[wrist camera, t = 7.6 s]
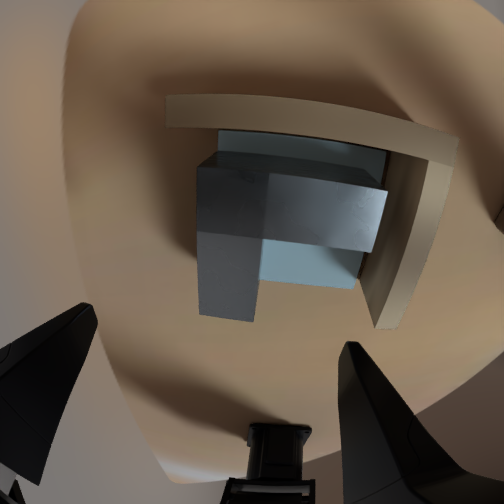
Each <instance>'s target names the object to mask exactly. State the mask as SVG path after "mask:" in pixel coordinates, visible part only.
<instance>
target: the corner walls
mask: <svg viewBox="0 0 504 504" xmlns="http://www.w3.org/2000/svg"><path fill="white" fill-rule="evenodd" d="M165 128H223V129H242V130H257V131H269V132H280V133H289V134H298V135H306V136H313V137H320V138H327V139H334V140H340V141H346V142H351V143H357V144H362V145H367V146H372V147H377V148H382V149H386V150H391V154H390V160H389V165H388V171H387V176H386V181H385V185H384V188H385V189H386V190H387V191H388V193H387V197H386V201H385V205H384V209H383V213H382V217H381V221H380V224H379V228H378V231H377V235H376V239H375V242H374V245H373V249H372V252H368V254H367V257H366V261H365V264H364V267H363V271H362V274H361V277H360V280H359V281H360V284H361V287H362V290H363V293H364V296H365V299H366V302H367V305H368V308H369V311H370V315H371V318H372V321H373V325H374V328H375V329H396V328H397V326H398V324H399V322H400V320H401V318H402V316H403V314H404V312H405V310H406V308H407V305H408V303H409V301H410V299H411V296H412V294H413V292H414V289H415V287H416V285H417V282H418V280H419V277H420V275H421V272H422V270H423V267H424V265H425V262H426V260H427V257H428V254H429V251H430V249H431V246H432V243H433V240H434V237H435V234H436V231H437V228H438V225H439V221H440V218H441V215H442V211H443V208H444V205H445V201H446V197H447V193H448V190H449V186H450V182H451V177H452V173H453V169H454V164H455V159H456V154H457V149H458V144H459V137H456V136H454V135H451V134H448V133H445V132H442V131H439V130H436V129H433V128H430V127H427V126H424V125H421V124H417V123H414V122H411V121H407V120H403V119H400V118H396V117H392V116H388V115H384V114H380V113H376V112H371V111H367V110H362V109H357V108H352V107H347V106H342V105H336V104H330V103H324V102H317V101H310V100H302V99H294V98H284V97H274V96H261V95H243V94H177V95H166V98H165Z"/></svg>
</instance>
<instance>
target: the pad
mask: <svg viewBox="0 0 504 504" xmlns="http://www.w3.org/2000/svg"><path fill="white" fill-rule="evenodd" d="M218 150H220V151H234V152H246V153H257V154H267V155H276V156H285V157H293V158H300V159H308V160H314V161H321V162H327V163H334V164H340V165H345V166H351V167H356V168H362V169H365V170H366V171H367V172H368V173H369V174H370V175H371V176H372V177H373V178H374V179H376V180H377V181H378V182H379V183H380V184H381V180H382V175H383V170H384V164H385V159H386V153H387V152H386V151H383V150H378V149H373V148H368V147H363V146H358V145H352V144H347V143H341V142H335V141H329V140H322V139H315V138H307V137H299V136H291V135H282V134H271V133H260V132H246V131H228V130H219V132H218ZM363 254H364V252H363V251H355V250H348V249H340V248H332V247H324V246H317V245H309V244H301V243H292V242H284V241H276V240H268V239H264V246H263V255H262V264H261V273H260V280H268V281H277V282H287V283H296V284H306V285H316V286H326V287H337V288H348V289H353V288H354V285H355V282H356V278H357V275H358V272H359V268H360V265H361V261H362V258H363Z"/></svg>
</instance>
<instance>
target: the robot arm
mask: <svg viewBox="0 0 504 504" xmlns="http://www.w3.org/2000/svg"><path fill="white" fill-rule="evenodd" d="M97 325H98V320H97V317H96V314H95V311H94V308H93V306H92V305H91V304H88V303H84V302H83V303H80V304H78V305H76V306H74V307H72V308H71V309H69V310H67V311H65V312H63V313H62V314H60V315H58V316H56V317H54V318H53V319H51V320H49V321H47V322H46V323H44V324H42V325H40V326H39V327H37V328H35V329H34V330H32V331H30V332H28V333H27V334H25V335H23V336H21V337H20V338H18V339H16V340H15V341H13V342H12V343H9V344H8V345H6V346H5V347H3V348H1V349H0V504H26V503H25V501H24V498H23V495H22V493H21V490H20V487H19V484H18V481H17V480H16V479H15V477H16V475H17V474H18V475H20V476H22V477H23V478H25V479H27V480H29V481H30V482H32V483H34V484H36V485H37V486H39V484H40V481H41V478H42V474H43V470H44V467H45V464H46V460H47V457H48V454H49V451H50V448H51V444H52V442H53V439H54V436H55V433H56V430H57V427H58V425H59V422H60V419H61V417H62V414H63V411H64V409H65V406H66V404H67V401H68V399H69V396H70V394H71V392H72V389H73V387H74V384H75V382H76V380H77V377H78V375H79V373H80V371H81V368H82V366H83V364H84V362H85V359H86V356H87V354H88V351H89V348H90V345H91V342H92V339H93V337H94V334H95V331H96V329H97ZM338 411H339V422H340V435H341V450H342V468H343V495H344V504H504V481H500V480H496V479H492V478H487V477H484V476H480V475H476V474H473V473H470V472H468V471H466V470H464V469H462V468H461V467H460V466H459V465H458V464H457V463H456V462H455V461H454V460H453V459H452V458H451V457H450V456H449V455H448V453H447V452H446V451H445V450H444V449H443V448H442V447H441V446H440V445H439V444H438V443H437V442H436V440H435V439H434V438H433V437H432V436H431V435H430V434H429V433H428V431H427V430H426V429H425V427H424V426H423V425H422V424H421V422H420V421H419V420H418V418H417V417H416V416H415V415H414V413H413V412H412V410H411V409H410V408H409V406H408V405H407V404H406V402H405V401H404V400H403V399H402V397H401V396H400V395H399V393H398V392H397V391H396V389H395V388H394V387H393V385H392V384H391V383H390V382H389V380H388V379H387V378H386V376H385V375H384V374H383V373H382V371H381V370H380V369H379V367H378V366H377V365H376V364H375V362H374V361H373V360H372V358H371V357H370V356H369V355H368V353H367V352H366V351H365V350H364V348H363V347H362V346H361V344H360V343H359V342H355V341H347V342H346V343H345V345H344V347H343V350H342V352H341V354H340V357H339V361H338ZM311 433H312V428H310V427H290V426H276V425H264V424H250V427H249V434H248V440H247V446H248V447H250V454H249V461H248V469H247V476H246V479H235V478H231V477H229V480H228V481H227V482H226V486H225V489H224V493H223V496H222V499H221V502H220V504H315V479H310V480H302V465H303V446H304V444H305V443H306V441H307V439H308V438H309V436H310V434H311ZM302 493H309V496H302Z"/></svg>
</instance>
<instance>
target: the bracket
mask: <svg viewBox="0 0 504 504" xmlns="http://www.w3.org/2000/svg"><path fill="white" fill-rule="evenodd" d="M387 193H388V191H387V190H386V189H385V188H384V187H383V186H382V185H381V184H380V183H379V182H378V181H377V180H376V179H374V178H373V177H372V176H371V175H370V174H369V173H368V172H367V171H366V170H365V169H362V168H356V167H351V166H345V165H340V164H334V163H327V162H321V161H314V160H308V159H300V158H293V157H285V156H276V155H267V154H257V153H246V152H234V151H220V150H218V151H216V152H215V153H214V154H213V155H211V156H210V157H209V158H207V159H206V160H205V161H204V162H202V163H201V164H200V165H199V166H197V269H198V296H199V314H200V315H206V316H213V317H219V318H226V319H233V320H241V321H248V322H254V315H255V309H256V302H257V295H258V288H259V282H260V273H261V264H262V255H263V246H264V239H268V240H276V241H284V242H292V243H301V244H309V245H317V246H324V247H332V248H340V249H348V250H355V251H363V252H372V249H373V245H374V242H375V239H376V235H377V231H378V228H379V224H380V221H381V217H382V213H383V209H384V205H385V201H386V197H387Z"/></svg>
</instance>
